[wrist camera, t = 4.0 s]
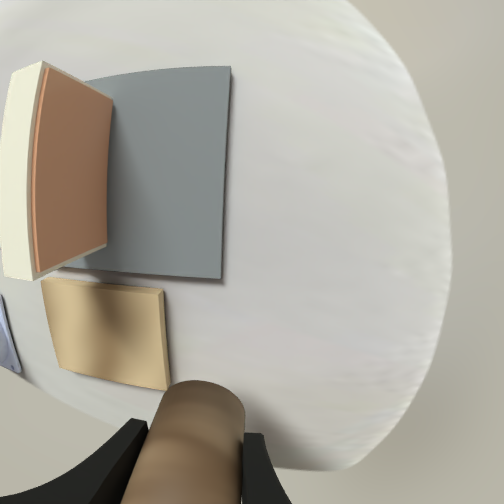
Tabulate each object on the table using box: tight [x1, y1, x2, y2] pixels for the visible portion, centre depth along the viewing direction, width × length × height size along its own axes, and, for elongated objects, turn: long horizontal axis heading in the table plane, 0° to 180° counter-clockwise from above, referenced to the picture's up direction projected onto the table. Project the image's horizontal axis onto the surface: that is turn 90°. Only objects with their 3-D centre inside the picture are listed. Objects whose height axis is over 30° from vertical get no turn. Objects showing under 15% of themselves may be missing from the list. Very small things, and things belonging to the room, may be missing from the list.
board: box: [41, 277, 171, 391], centre depth 17 cm, size 9×7×1 cm
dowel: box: [120, 380, 245, 504], centre depth 8 cm, size 4×4×7 cm
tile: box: [0, 61, 113, 281], centre depth 12 cm, size 2×9×7 cm, turn 177°
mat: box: [63, 66, 231, 279], centre depth 15 cm, size 12×12×1 cm
